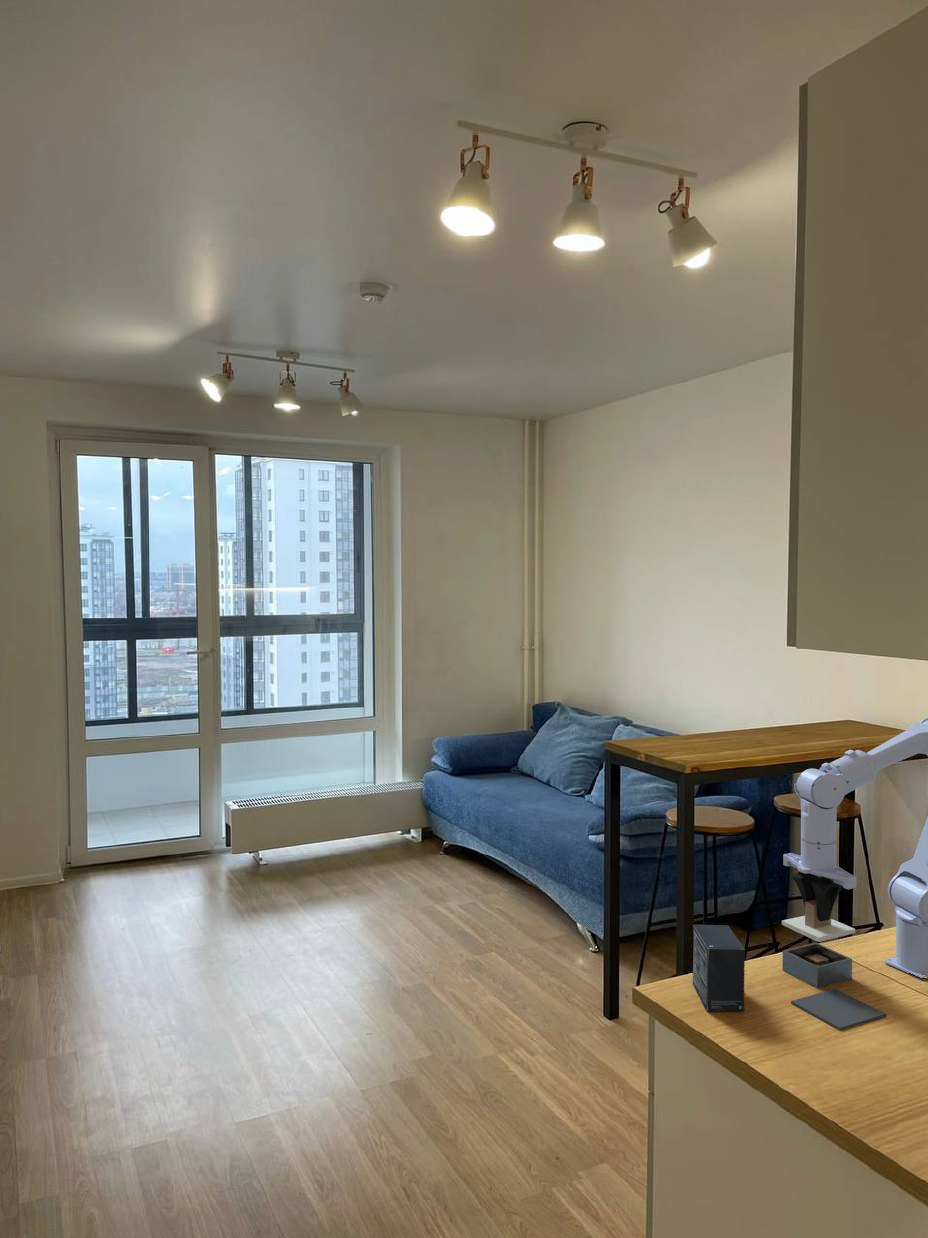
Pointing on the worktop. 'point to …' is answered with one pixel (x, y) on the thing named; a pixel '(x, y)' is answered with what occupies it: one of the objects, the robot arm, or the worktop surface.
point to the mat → (838, 1009)
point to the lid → (817, 925)
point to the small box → (718, 968)
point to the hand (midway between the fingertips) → (818, 917)
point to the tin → (817, 965)
